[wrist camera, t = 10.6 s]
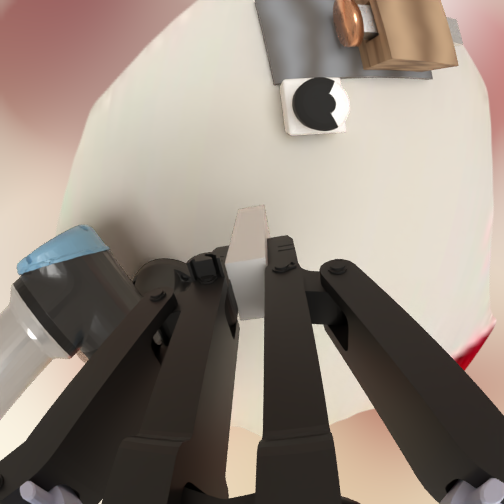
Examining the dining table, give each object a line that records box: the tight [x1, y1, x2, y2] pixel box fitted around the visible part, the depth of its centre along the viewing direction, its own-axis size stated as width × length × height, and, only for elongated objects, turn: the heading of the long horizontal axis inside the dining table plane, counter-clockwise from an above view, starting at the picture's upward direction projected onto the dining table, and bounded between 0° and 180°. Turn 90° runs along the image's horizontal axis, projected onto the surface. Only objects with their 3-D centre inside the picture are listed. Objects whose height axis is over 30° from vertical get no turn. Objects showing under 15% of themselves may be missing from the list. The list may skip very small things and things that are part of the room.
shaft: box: [333, 0, 463, 47], centre depth 24 cm, size 18×7×7 cm, turn 101°
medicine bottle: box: [280, 77, 350, 136], centre depth 31 cm, size 7×7×12 cm
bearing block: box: [255, 0, 458, 85], centre depth 26 cm, size 25×14×12 cm, turn 101°
